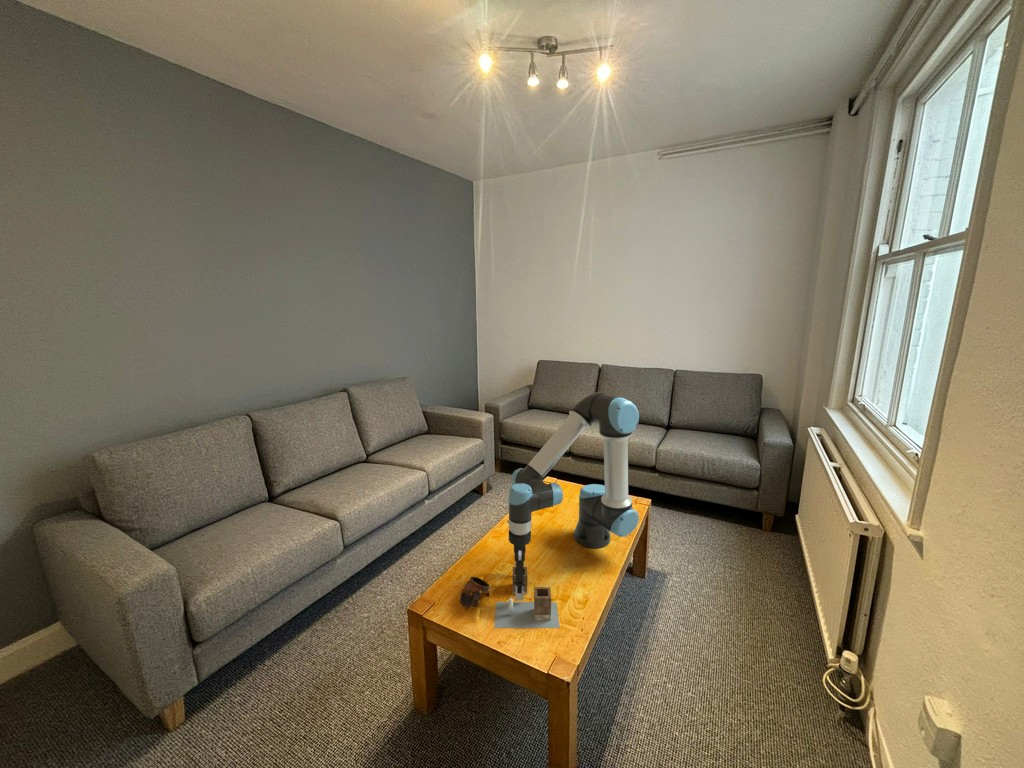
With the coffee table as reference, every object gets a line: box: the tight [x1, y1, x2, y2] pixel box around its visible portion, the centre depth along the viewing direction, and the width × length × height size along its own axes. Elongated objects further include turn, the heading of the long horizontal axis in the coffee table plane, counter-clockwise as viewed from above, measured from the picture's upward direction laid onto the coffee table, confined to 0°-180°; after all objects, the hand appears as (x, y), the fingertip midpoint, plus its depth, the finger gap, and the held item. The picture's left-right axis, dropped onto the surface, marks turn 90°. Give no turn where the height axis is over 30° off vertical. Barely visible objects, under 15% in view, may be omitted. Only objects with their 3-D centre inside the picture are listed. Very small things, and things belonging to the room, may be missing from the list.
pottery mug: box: [459, 576, 490, 609], centre depth 139 cm, size 12×10×8 cm
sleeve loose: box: [512, 566, 528, 595], centre depth 144 cm, size 5×5×8 cm
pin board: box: [493, 597, 561, 629], centre depth 132 cm, size 20×11×7 cm, turn 90°
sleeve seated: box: [533, 586, 552, 621], centre depth 132 cm, size 5×5×8 cm
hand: (519, 585), depth 144 cm, fingers open, 13 cm apart
